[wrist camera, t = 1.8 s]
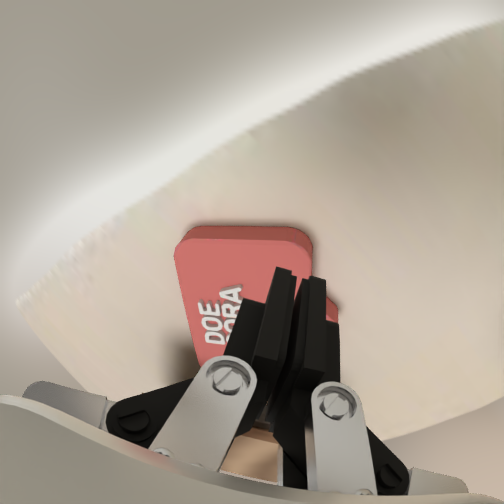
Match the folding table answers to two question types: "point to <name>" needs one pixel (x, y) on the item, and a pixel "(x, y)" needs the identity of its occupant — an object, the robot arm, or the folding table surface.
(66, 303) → the folding table surface
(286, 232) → the plaque
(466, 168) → the folding table surface
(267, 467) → the overhang ledge
